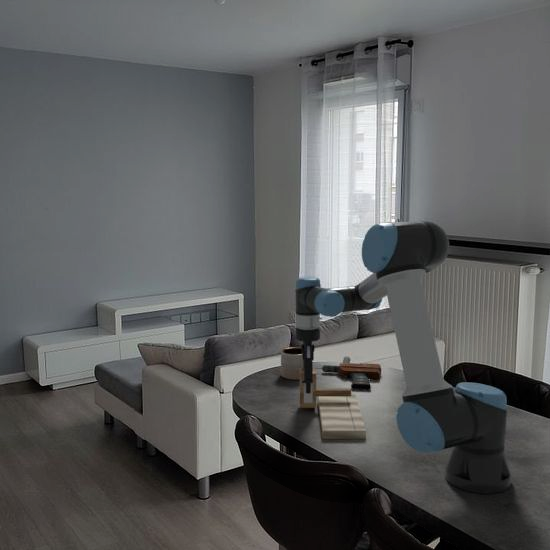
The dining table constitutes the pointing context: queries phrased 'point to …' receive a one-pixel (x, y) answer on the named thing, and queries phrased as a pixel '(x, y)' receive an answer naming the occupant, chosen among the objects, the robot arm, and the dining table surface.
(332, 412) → the board
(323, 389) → the brown block with tab
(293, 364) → the planter
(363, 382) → the tool
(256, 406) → the dining table surface
